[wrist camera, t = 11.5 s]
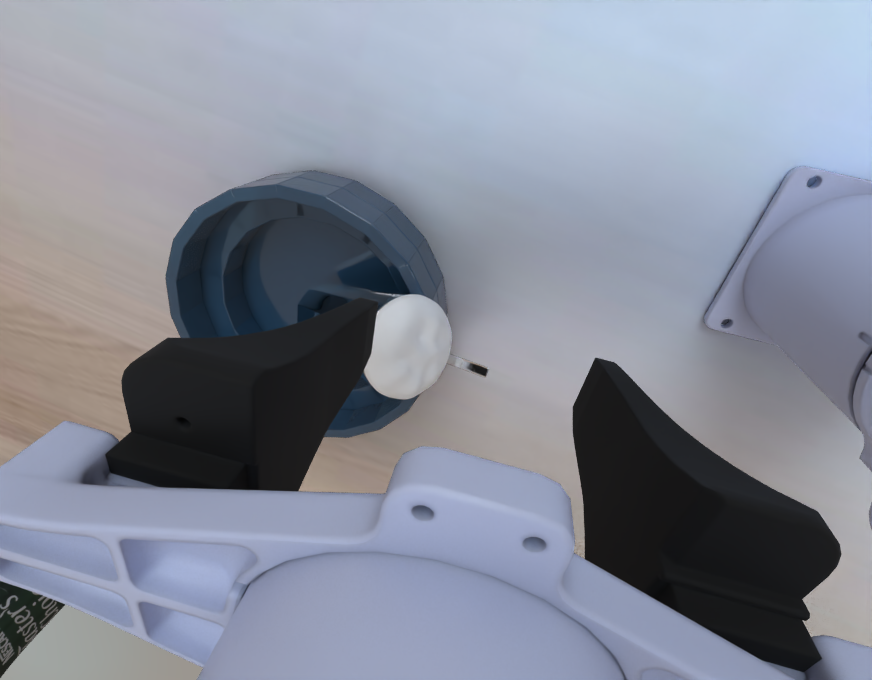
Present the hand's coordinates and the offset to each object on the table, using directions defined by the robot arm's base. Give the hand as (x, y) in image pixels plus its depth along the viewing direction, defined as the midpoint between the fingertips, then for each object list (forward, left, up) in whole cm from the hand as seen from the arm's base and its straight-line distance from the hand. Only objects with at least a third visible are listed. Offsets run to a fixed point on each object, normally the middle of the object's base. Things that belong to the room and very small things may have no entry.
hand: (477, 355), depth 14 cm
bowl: (+9, +5, -10) cm, 15 cm away
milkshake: (+8, +5, -9) cm, 13 cm away
